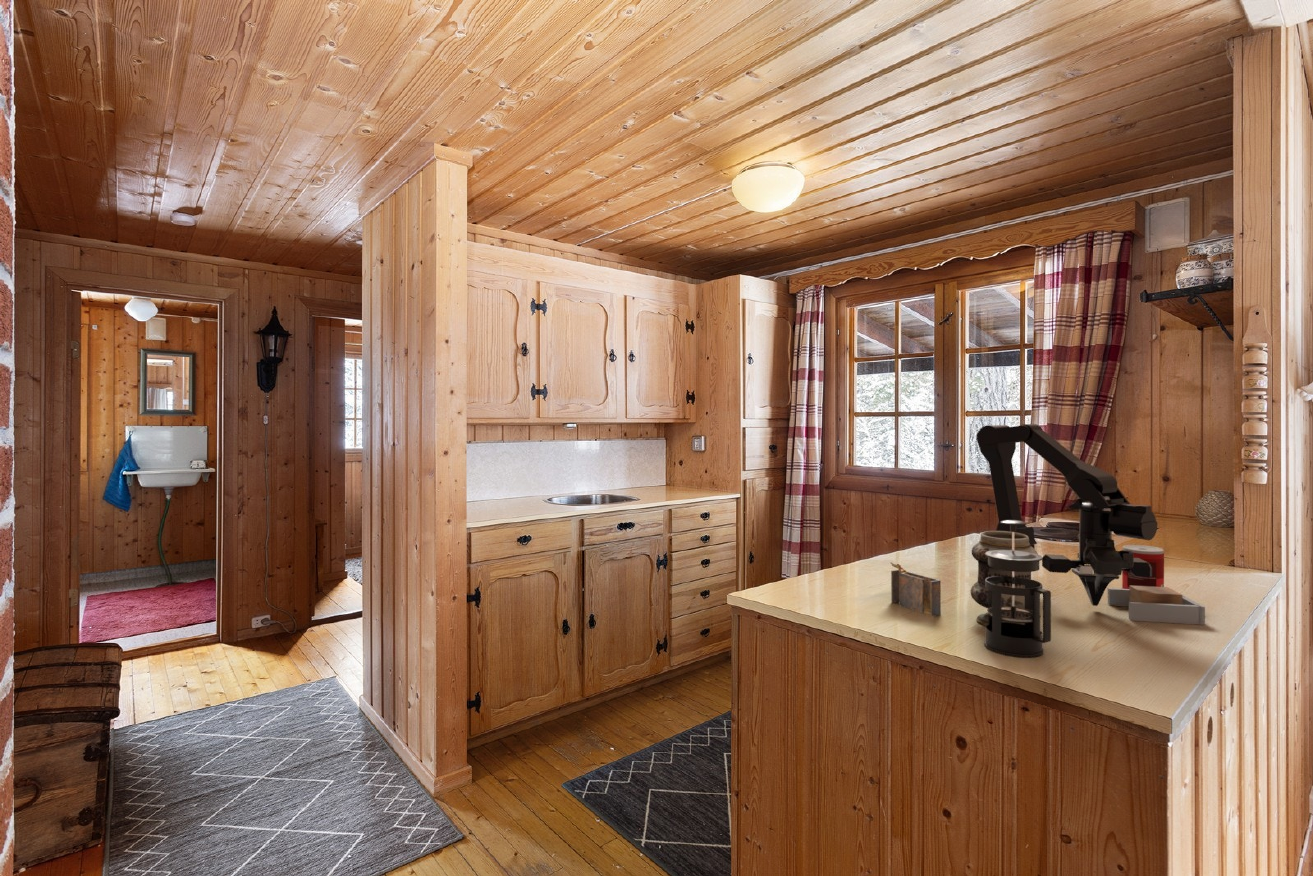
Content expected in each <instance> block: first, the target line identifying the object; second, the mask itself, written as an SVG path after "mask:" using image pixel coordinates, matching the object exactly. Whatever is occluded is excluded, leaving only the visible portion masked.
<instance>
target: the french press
mask: <svg viewBox="0 0 1313 876" xmlns="http://www.w3.org/2000/svg"><path fill="white" fill-rule="evenodd" d="M1000 523H1001V524H1006V525H1010V532H1012V550H993V551H988V552H986V553H985V555H986V556H987V557H988V565H989V566H990V567H992V568H995V569H999V570H1004V571H1012V576H993V577H988V578H986V579H985V587H986V588H987V589H988V608H986V610H987V612H988V624H987V625H986V626H985V640H984V641H983V645H984V647H985V648H986V649H987V650H989V651H991V652H994V653H996V654H1000V655H1003V656H1007V657H1014V658H1022V659H1023V658H1038V657H1041V656H1042V655H1044V653H1045V649H1044V647H1043V644H1046V643H1049V642H1051V640H1052V593H1051V591H1050V590H1048V589H1045V588H1044V589H1043V583H1041V582H1040V581H1038V580H1036V579H1032V578H1031V579H1027V578H1021V577H1014V572H1031V573H1032V572H1037V571H1039V570H1040V562H1042V558H1043V556H1042V555H1040V554H1039V553H1038V554H1034V553H1030V552H1023V551H1014V532H1016V525H1026V526H1027V524H1028V523H1027V522H1025V521H1023V520H1022V521H1017V520H1004V521H1001V522H1000ZM995 583H1010V584H1012V588H1011V587H1004V586H999V585H995ZM1014 584H1020V585H1025V588H1014ZM1002 594H1006V595H1012V606H1011V607H1009V606H1002ZM1014 595H1015V596H1025V609H1024V608H1018V607H1015V601H1014ZM1041 595H1042V631H1041ZM1002 621H1007V622H1002ZM1009 622H1015V623H1009ZM1017 623H1025V625H1023V624H1017Z"/></svg>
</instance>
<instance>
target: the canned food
mask: <svg viewBox="0 0 1313 876" xmlns="http://www.w3.org/2000/svg"><path fill="white" fill-rule="evenodd" d="M1121 550H1125V551H1131V552H1132V553H1133V557H1134V558H1140V559H1142V560H1144V561H1146V562H1148V563H1149V564H1150V565H1151V567H1152V576H1151V577H1143V576H1134V575H1133V574H1132V573H1131V572H1130V571H1122V574H1121V576H1122V577H1121V579H1122V582H1121V586H1122V587H1121V589H1130V585H1131V586H1151V587H1165V550H1164V549H1163V548H1161V547H1156V546H1153V545H1143V544H1126V545H1123V546H1122V549H1121Z"/></svg>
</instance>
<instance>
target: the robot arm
mask: <svg viewBox="0 0 1313 876" xmlns="http://www.w3.org/2000/svg"><path fill="white" fill-rule="evenodd" d="M976 442H977V444H978V448H979V451H980V453H981V454H982V456H983V457H984V458H985V460H986V461H987V462H988V463H987V464H988V467H989V472H990V478H991V483H992V489H993V496H994V502H995V508H996V514H997V519H998V521H997V522H998V523H997V526H996V529H995V531H1008V532H1010V525H1006V524H1001V523H1000V522H1001V521H1004V520H1017V521H1023V519H1022V514H1021V509H1020V508H1021V507H1020V504H1019V496H1018V490H1017V485H1016V479H1015V474H1014V473H1015V471H1014V467H1013V457H1014V455H1015V452H1016V448H1017V443H1025V445H1027V446H1028V447H1029V448H1030V449H1032V450H1033V451H1034V452H1035V453H1036V454H1037V455H1039V456H1040V457H1041V458H1042V459H1043V460H1044V461H1045V462H1047V463H1049V464H1050V466H1051V467H1053V468H1055V470H1057V471H1058V472H1059V473H1061V475H1062V476H1063V478H1065V481H1066V483H1067V486H1069V488H1070V490H1072V492H1073V493H1074V494H1075V495H1076V496H1077V497H1078V498H1077V499H1076V500H1075V501H1074V502H1073V503H1071V504H1070V505H1068V508H1069V510H1077V511H1079V525H1078V526H1079V528H1078V530H1079V532H1078V533H1079V534H1077V540H1078V541H1079V542H1078V552H1077V555H1076V556H1077V559H1071V558H1068V557H1067V556H1065V555H1064V554H1044V555H1043V556H1042V560H1041V566H1042V568H1044V569H1045V570H1047V571H1048V572H1050V573H1055V574H1056V573H1059V574H1061V573H1062V574H1063V573H1064V574H1067V573H1068V572H1070V571H1071V573H1073V574H1075V575H1076V576H1078V577H1079V579H1080V581H1081V582H1082V585H1083V586H1084V589H1085V592H1086V594H1087V596H1088V598H1089V602H1090V604H1091V605H1092V606H1095V607H1098V606H1099V604H1100V602H1101V599H1102V597H1103V596H1104V593H1105V590H1106V588H1107V587H1108V585H1109V584H1110V583H1111V582H1113V581H1114V580H1119V579H1120V576H1122V571H1130V572H1131V573H1132V574H1133V575H1134V576H1143V577H1151V576H1152V567H1151V565H1150V564H1149V563H1148V562H1146V561H1144V560H1142V559H1140V558H1134V557H1133V553H1132V552H1131V551H1125V550H1122V549H1121V550H1116V547H1115V540H1114V539H1113V535H1115V536H1116V537H1117V536H1118V537H1124V538H1131V539H1138V540H1145V541H1151V540H1152V539H1154V537H1155V536H1156V534H1157V531H1158V524H1159V523H1158V521H1157V519H1156V516H1155V514H1154V513H1153V512H1152V506H1151V505H1148V504H1141V505H1137V504H1131V503H1130V501H1129V500H1128V499H1127V497H1125V494H1123V492H1122V491H1121V489H1120V488H1119V487H1118V481H1117V479H1116V478H1115V476H1113V475H1112V474H1110V473H1109V472H1106V471H1104V470H1102V469H1101V468H1099V467H1097V466H1094V465H1093V464H1089V463H1086V462H1084V461H1083V460H1081V459H1080V458H1078V457H1077V456H1076V455H1075V454H1074V453H1072V452H1071V451H1070V450H1069V449H1067V448H1066V447H1065V446H1064V445H1062V444H1061V443H1060V442H1058V440H1056V439H1055V438H1053V437H1052V436H1051V435H1050V434H1049V433H1047V432H1046V431H1045V430H1043V428H1042V426H1040V425H1038V424H1035V423H1027V424H1026V423H1025V424H1021V425H1014V426H1010V425H1007V424H1006V425H1005V424H999V425H998V424H997V425H996V424H995V425H994V424H993V425H983V426H982V427H981V428H979V431H978V432H977V433H976ZM1015 533H1021V534H1025V535H1027V536H1028V537H1029V543H1030V546H1031V547H1033V548H1034V549H1035V547H1036V546H1035V545H1037V544H1038V543H1037V540H1036V539H1035V530H1034V526H1027V524H1026V525H1016V532H1015ZM1035 550H1036V549H1035Z"/></svg>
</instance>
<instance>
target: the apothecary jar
mask: <svg viewBox="0 0 1313 876" xmlns="http://www.w3.org/2000/svg"><path fill="white" fill-rule="evenodd" d="M993 550H1012V532H1008V531H996V530H987V531H983V532H981V533H980V539H979V541H978V542H977V543H975V545H973V547H972V548H971V555H972V557H973V558H974V560H975V561H977V564H978V565H977V566H978V567H977V568H978V569H977V581H976V582H975V583H974V584H973V585H972V586H971V588H970V596H971V598H972V599H973V601H975V602H976V603H977V604H979V605H980V607H983V608H985V609H988V589H987V588H986V587H985V579H986V578H988V577H993V576H1012V571H1004V570H999V569H995V568H992V567H990V566H989V565H988V557H987V556H986V555H985V553H986V552H988V551H993ZM1014 551H1023V552H1030V553H1034V554H1038V555H1039V553H1038V552H1037V550H1036V549H1034V548H1033V547H1031V546H1030V543H1029V537H1028V536H1027V535H1025V534H1021V533H1015V532H1014ZM1014 577H1021V578H1027V579H1031V580H1032V572H1014ZM995 585H999V586H1004V587H1011V588H1012V584H1010V583H995ZM1014 588H1025V585H1020V584H1014ZM1014 601H1015V607H1018V608H1024V609H1025V596H1015V595H1014ZM1002 606H1009V607H1011V606H1012V595H1006V594H1002ZM975 620H976V621H977V622H978V623H979V624H981V625H983V626H984V627H986V625H987V624H988V611H987V612H984V613H981V614H979V615H977V616H976V619H975ZM1002 622H1007V621H1002ZM1009 623H1015V622H1009ZM1017 624H1023V625H1025V623H1017Z"/></svg>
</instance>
